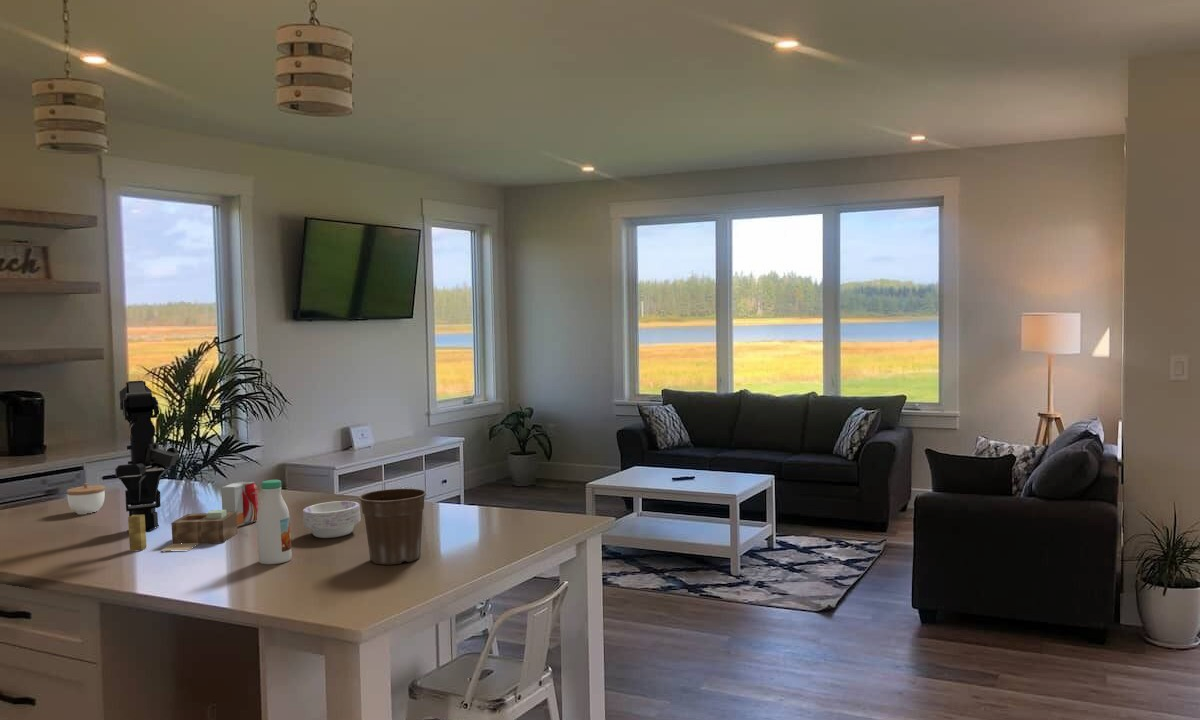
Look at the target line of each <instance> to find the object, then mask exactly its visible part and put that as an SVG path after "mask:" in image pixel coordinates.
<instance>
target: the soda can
mask: <svg viewBox="0 0 1200 720" xmlns="http://www.w3.org/2000/svg"><path fill="white" fill-rule="evenodd" d="M234 483H236V484H243V489H242V497H243V518H244V523H245V524H244V525H249V523H251V524H254V523H256V522H257V512H258V508H259V497H258V496H259V495H258V493H259V492H258V486H257V485H256V483H255V480H252V479H251V480H240V481H235V482H234ZM253 522H254V523H253Z"/></svg>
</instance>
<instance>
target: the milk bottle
mask: <svg viewBox="0 0 1200 720" xmlns="http://www.w3.org/2000/svg"><path fill="white" fill-rule="evenodd" d="M261 491H262V497H261V502H260V504H259V505H258V512H257V520H256V529H257V530H256V532H257V533H256V534H257V553H258V562H259V563H260V564H261V565H278V564H282V563H283V564H284V563H287V562H289V561H291V559H292V555H293V554H292V540H291V539H292V538H291V520H290V512H289V508H288V505H287V504H286V501H285V500H284V498H283V496H282V492H281V491H282V480H280V479H268V480H264V481H262V482H261Z"/></svg>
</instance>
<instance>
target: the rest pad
mask: <svg viewBox="0 0 1200 720" xmlns="http://www.w3.org/2000/svg"><path fill="white" fill-rule="evenodd" d="M197 544H198V543H182V544H173V543H171V544H170V545H168V546H166V547H165V548H163V549H161V550H160V552H161V551H171V550H189V549H191V548H192V547H194V546H195V545H197ZM198 545H199V544H198ZM198 545H197V546H198ZM195 547H196V546H195ZM195 547H194V548H195ZM192 549H193V548H192ZM192 549H191V550H192ZM189 551H190V550H189Z"/></svg>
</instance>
